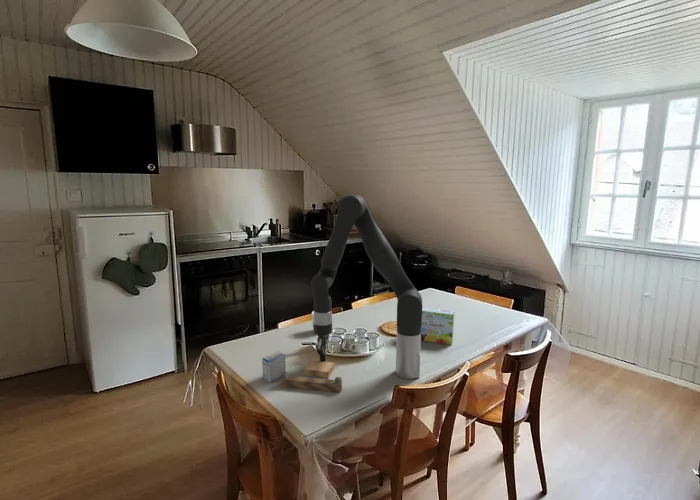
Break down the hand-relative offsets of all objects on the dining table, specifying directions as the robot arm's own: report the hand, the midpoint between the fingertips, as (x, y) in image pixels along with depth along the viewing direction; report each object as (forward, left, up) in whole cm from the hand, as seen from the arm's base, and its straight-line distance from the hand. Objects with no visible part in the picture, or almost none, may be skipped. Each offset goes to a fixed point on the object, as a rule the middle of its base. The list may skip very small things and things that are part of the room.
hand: (323, 361), depth 164 cm
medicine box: (+16, +13, -2) cm, 21 cm away
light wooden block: (0, +6, -2) cm, 6 cm away
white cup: (+10, -34, -2) cm, 36 cm away
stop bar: (0, +18, -2) cm, 18 cm away
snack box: (-43, -34, -2) cm, 55 cm away
